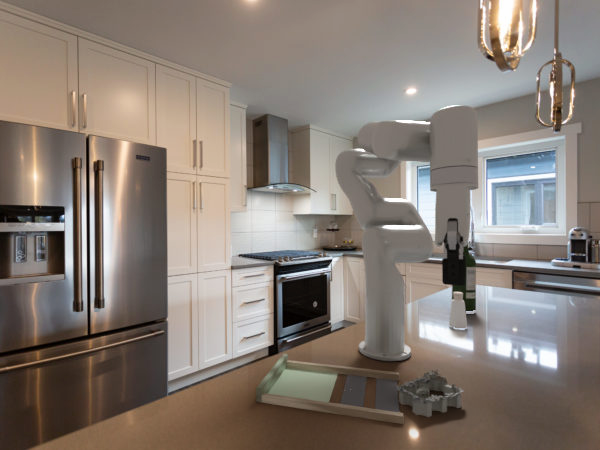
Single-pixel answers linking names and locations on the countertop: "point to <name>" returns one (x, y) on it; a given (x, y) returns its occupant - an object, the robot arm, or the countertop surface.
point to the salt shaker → (458, 311)
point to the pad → (305, 384)
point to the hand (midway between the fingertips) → (454, 280)
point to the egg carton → (420, 398)
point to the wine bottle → (468, 282)
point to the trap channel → (322, 406)
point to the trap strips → (384, 393)
